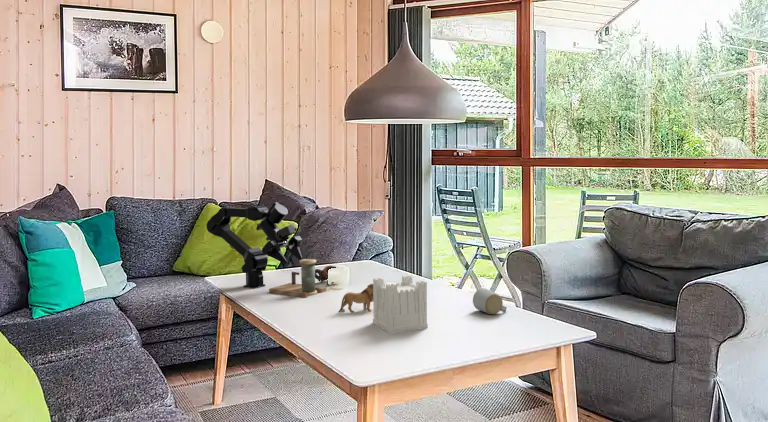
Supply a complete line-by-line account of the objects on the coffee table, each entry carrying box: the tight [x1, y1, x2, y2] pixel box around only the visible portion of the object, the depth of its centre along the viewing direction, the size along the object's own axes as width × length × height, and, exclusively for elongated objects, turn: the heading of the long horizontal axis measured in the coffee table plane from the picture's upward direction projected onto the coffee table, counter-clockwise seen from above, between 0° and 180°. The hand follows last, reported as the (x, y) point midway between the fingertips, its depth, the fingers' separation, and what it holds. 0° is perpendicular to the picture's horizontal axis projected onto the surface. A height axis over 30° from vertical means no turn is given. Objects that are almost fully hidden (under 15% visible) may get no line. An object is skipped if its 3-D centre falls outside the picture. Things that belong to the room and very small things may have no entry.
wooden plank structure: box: [268, 271, 327, 298], centre depth 258 cm, size 18×13×6 cm
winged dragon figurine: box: [315, 265, 337, 286], centre depth 274 cm, size 12×10×8 cm
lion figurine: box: [337, 283, 373, 314], centre depth 226 cm, size 15×5×9 cm, turn 116°
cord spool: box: [299, 258, 318, 297], centre depth 254 cm, size 6×6×13 cm
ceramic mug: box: [472, 287, 508, 315], centre depth 223 cm, size 11×8×8 cm
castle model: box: [372, 274, 429, 334], centre depth 207 cm, size 13×15×14 cm
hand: (294, 261), depth 257 cm, fingers open, 9 cm apart
